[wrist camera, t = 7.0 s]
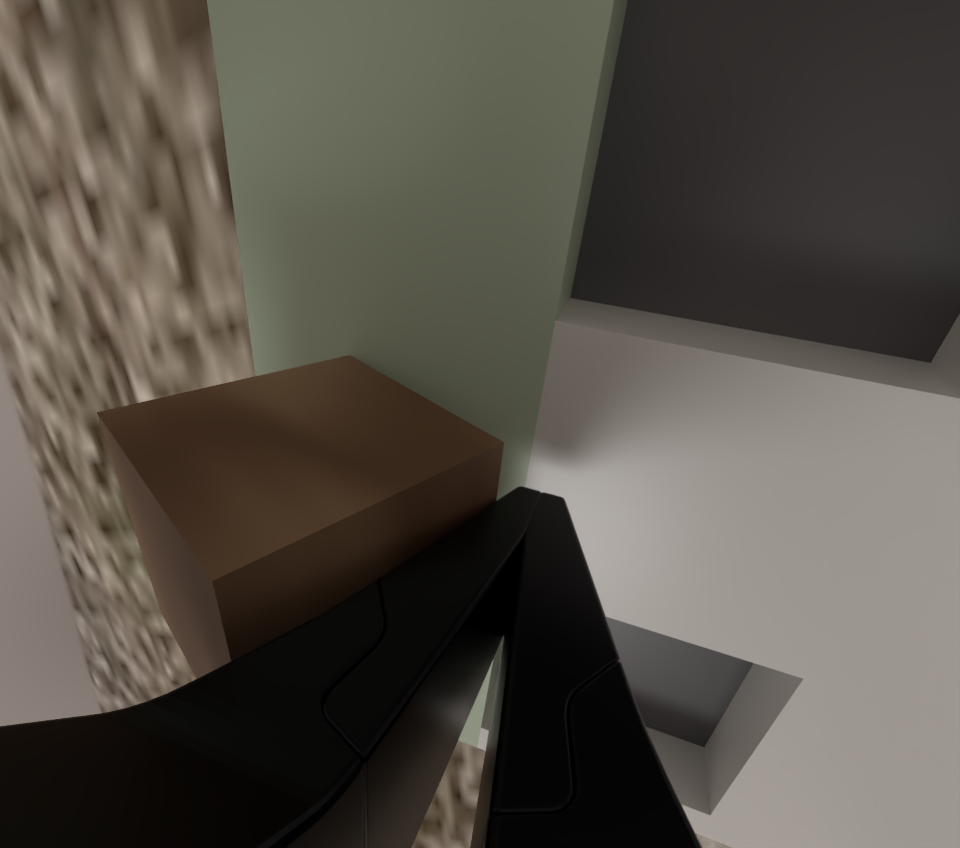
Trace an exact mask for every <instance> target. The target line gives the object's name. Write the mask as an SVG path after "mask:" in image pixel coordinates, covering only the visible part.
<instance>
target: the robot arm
mask: <svg viewBox="0 0 960 848" xmlns="http://www.w3.org/2000/svg"><path fill="white" fill-rule="evenodd" d="M503 636H504V638H503ZM502 638H503V644H502V651H501V657H500V663H499V669H498V676H497V682H496V688H495V695H494V701H493V707H492V714H491V720H490V726H489V733H488V739H487V745H486V752H485V758H484V764H483V771H482V777H481V783H480V790H479V796H478V802H477V809H476V815H475V821H474V828H473V834H472V840H471V847H470V848H702V846H701V844H700V842H699V840H698V838H697V836H696V834H695V832H694V830H693V828H692V825H691V823H690V821H689V819H688V817H687V815H686V813H685V811H684V809H683V807H682V805H681V802H680V800H679V798H678V796H677V794H676V792H675V790H674V788H673V786H672V784H671V782H670V780H669V777H668V775H667V773H666V771H665V769H664V766H663V764H662V762H661V760H660V757H659V755H658V753H657V751H656V749H655V746H654V744H653V742H652V740H651V738H650V735H649V733H648V731H647V728H646V726H645V723H644V721H643V718H642V716H641V713H640V710H639V708H638V705H637V703H636V700H635V697H634V695H633V692H632V690H631V687H630V684H629V681H628V678H627V675H626V672H625V669H624V667H623V664H622V663H621V662H620V656H619V653H618V650H617V647H616V644H615V642H614V639H613V636H612V633H611V630H610V627H609V624H608V622H607V619H606V616H605V613H604V610H603V607H602V604H601V601H600V599H599V596H598V593H597V590H596V587H595V584H594V581H593V578H592V576H591V573H590V570H589V567H588V564H587V561H586V558H585V556H584V553H583V550H582V547H581V544H580V541H579V538H578V535H577V533H576V530H575V527H574V524H573V521H572V518H571V515H570V513H569V510H568V507H567V504H566V501H565V499H564V498H563V497H560V496H556V495H553V494H549V493H545V492H542V493H541V492H540V491H538V490H534V489H530V488H527V487H523V486H519V487H517V488H515V489H514V490H512V491H511V492H509V493H507V494H506V495H504V496H503V497H501V498H500V499H498V500H497V501H495V502H494V503H492V504H491V505H489V506H488V507H486V508H485V509H483V510H481V511H480V512H478V513H477V514H475V515H474V516H472V517H471V518H469V519H468V520H466V521H465V522H463V523H462V524H460V525H459V526H457V527H455V528H454V529H452V530H451V531H449V532H448V533H446V534H445V535H443V536H442V537H440V538H439V539H437V540H436V541H434V542H433V543H431V544H430V545H428V546H426V547H425V548H423V549H422V550H420V551H419V552H417V553H416V554H414V555H413V556H411V557H410V558H408V559H407V560H405V561H404V562H402V563H400V564H399V565H397V566H396V567H394V568H393V569H391V570H390V571H388V572H387V573H385V574H384V575H382V576H381V577H379V578H378V581H376V580H375V581H373V582H371V583H369V584H368V585H366V586H365V587H363V588H362V589H360V590H359V591H357V592H356V593H354V594H353V595H351V596H349V597H348V598H346V599H344V600H343V601H341V602H339V603H338V604H336V605H335V606H333V607H331V608H330V609H328V610H326V611H325V612H323V613H321V614H320V615H318V616H316V617H314V618H312V619H310V620H309V621H307V622H305V623H303V624H301V625H299V626H298V627H296V628H294V629H292V630H290V631H288V632H287V633H285V634H283V635H281V636H279V637H277V638H275V639H273V640H271V641H269V642H267V643H265V644H263V645H262V646H260V647H258V648H256V649H254V650H252V651H250V652H248V653H246V654H244V655H242V656H240V657H238V658H236V659H234V660H233V661H231V662H229V663H227V664H225V665H223V666H221V667H219V668H217V669H215V670H213V671H211V672H209V673H207V674H205V675H203V676H202V677H200V678H198V679H196V680H194V681H192V682H190V683H188V684H186V685H184V686H182V687H180V688H178V689H175V690H173V691H171V692H169V693H167V694H165V695H162V696H160V697H157V698H155V699H152V700H150V701H147V702H144V703H141V704H138V705H134V706H131V707H128V708H124V709H120V710H116V711H112V712H107V713H101V714H95V715H87V716H79V717H71V718H63V719H55V720H47V721H39V722H32V723H23V724H16V725H7V726H0V848H411V847H412V845H413V843H414V840H415V838H416V836H417V833H418V831H419V829H420V826H421V824H422V822H423V820H424V817H425V815H426V813H427V810H428V808H429V806H430V804H431V801H432V799H433V797H434V794H435V792H436V790H437V787H438V785H439V783H440V781H441V778H442V776H443V774H444V771H445V769H446V767H447V764H448V762H449V760H450V758H451V755H452V753H453V751H454V748H455V746H456V744H457V742H458V739H459V737H460V735H461V732H462V730H463V728H464V725H465V723H466V721H467V719H468V716H469V714H470V712H471V709H472V707H473V705H474V702H475V700H476V698H477V696H478V693H479V691H480V689H481V686H482V684H483V682H484V680H485V677H486V675H487V673H488V670H489V668H490V666H491V663H492V661H493V659H494V657H495V654H496V652H497V650H498V647H499V645H500V643H501V640H502Z"/></svg>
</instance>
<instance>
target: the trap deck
mask: <svg viewBox="0 0 960 848" xmlns="http://www.w3.org/2000/svg"><path fill="white" fill-rule="evenodd" d="M207 5H208V13H209V21H210V28H211V36H212V44H213V52H214V59H215V67H216V75H217V83H218V91H219V98H220V106H221V114H222V122H223V129H224V137H225V145H226V153H227V160H228V168H229V176H230V184H231V191H232V199H233V207H234V215H235V223H236V230H237V238H238V246H239V254H240V261H241V269H242V277H243V285H244V292H245V300H246V308H247V316H248V323H249V331H250V339H251V347H252V355H253V362H254V370H255V376H260V375H264V374H268V373H273V372H277V371H282V370H286V369H290V368H295V367H299V366H304V365H308V364H312V363H317V362H321V361H325V360H330V359H334V358H339V357H343V356H347V355H350V356H352V357H354V358H355V359H357V360H359V361H361V362H362V363H364V364H366V365H368V366H370V367H371V368H373V369H375V370H377V371H378V372H380V373H382V374H384V375H385V376H387V377H389V378H391V379H393V380H394V381H396V382H398V383H400V384H401V385H403V386H405V387H407V388H408V389H410V390H412V391H414V392H416V393H417V394H419V395H421V396H423V397H424V398H426V399H428V400H430V401H432V402H433V403H435V404H437V405H439V406H440V407H442V408H444V409H446V410H447V411H449V412H451V413H453V414H455V415H456V416H458V417H460V418H462V419H463V420H465V421H467V422H469V423H470V424H472V425H474V426H476V427H478V428H479V429H481V430H483V431H485V432H486V433H488V434H490V435H492V436H493V437H495V438H497V439H499V440H501V441H502V442H504V447H503V455H502V462H501V470H500V477H499V484H498V492H497V499H496V501H497V500H498V499H500V498H501V497H503V496H504V495H506V494H507V493H509V492H511V491H512V490H514V489H515V488H517V487H519V486H523V487H527V488H530V489H534V490H538V491H540V492H541V493H542V492H545V493H549V494H553V495H556V496H560V497H563V498H564V499H565V501H566V504H567V507H568V510H569V513H570V515H571V518H572V521H573V524H574V527H575V530H576V533H577V535H578V538H579V541H580V544H581V547H582V550H583V553H584V556H585V558H586V561H587V564H588V567H589V570H590V573H591V576H592V578H593V581H594V584H595V587H596V590H597V593H598V596H599V599H600V601H601V604H602V607H603V610H604V613H605V616H606V619H607V622H608V624H609V627H610V630H611V633H612V636H613V639H614V642H615V644H616V647H617V650H618V653H619V656H620V662H621V663H622V664H623V667H624V669H625V672H626V675H627V678H628V681H629V684H630V687H631V690H632V692H633V695H634V697H635V700H636V703H637V705H638V708H639V710H640V713H641V716H642V718H643V721H644V723H645V726H646V728H647V731H648V733H649V735H650V738H651V740H652V742H653V744H654V746H655V749H656V751H657V753H658V755H659V757H660V760H661V762H662V764H663V766H664V769H665V771H666V773H667V775H668V777H669V780H670V782H671V784H672V786H673V788H674V790H675V792H676V794H677V796H678V798H679V800H680V802H681V805H682V807H683V809H684V811H685V813H686V815H687V817H688V819H689V821H690V823H691V825H692V828H693V830H694V832H695V833H696V834H698V835H701V836H703V837H706V838H708V839H711V840H714V841H716V842H719V843H721V844H724V845H726V846H729V847H731V848H960V0H207ZM503 638H504V636H503ZM503 638H502V640H501V643H500V645H499V647H498V650H497V652H496V654H495V657H494V659H493V661H492V663H491V666H490V668H489V670H488V673H487V675H486V677H485V680H484V682H483V684H482V686H481V689H480V691H479V693H478V696H477V698H476V700H475V702H474V705H473V707H472V709H471V712H470V714H469V716H468V719H467V721H466V723H465V725H464V728H463V730H462V732H461V735H460V737H459V739H458V740H459V741H461V742H464V743H467V744H469V745H472V746H474V747H477V748H479V749H482V750H484V751H486V745H487V739H488V733H489V726H490V720H491V714H492V707H493V701H494V695H495V688H496V682H497V676H498V669H499V663H500V657H501V651H502V644H503Z"/></svg>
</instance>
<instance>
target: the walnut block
mask: <svg viewBox="0 0 960 848" xmlns="http://www.w3.org/2000/svg"><path fill="white" fill-rule="evenodd" d="M97 414H98V417H99V421H100V424H101V427H102V430H103V433H104V436H105V439H106V442H107V446H108V449H109V452H110V455H111V458H112V461H113V464H114V467H115V471H116V474H117V477H118V480H119V483H120V486H121V489H122V492H123V495H124V499H125V502H126V505H127V508H128V511H129V514H130V517H131V520H132V524H133V527H134V530H135V533H136V536H137V539H138V542H139V545H140V548H141V552H142V555H143V558H144V561H145V564H146V567H147V570H148V573H149V577H150V580H151V583H152V586H153V589H154V592H155V595H156V598H157V601H158V605H159V608H160V611H161V613H162V615H163V617H164V619H165V620H166V622H167V624H168V626H169V628H170V630H171V631H172V633H173V635H174V637H175V639H176V641H177V642H178V644H179V646H180V648H181V650H182V652H183V653H184V655H185V657H186V659H187V661H188V663H189V664H190V666H191V668H192V670H193V672H194V674H195V675H196V677H197V679H198V678H200V677H202V676H203V675H205V674H207V673H209V672H211V671H213V670H215V669H217V668H219V667H221V666H223V665H225V664H227V663H229V662H231V661H233V660H234V659H236V658H238V657H240V656H242V655H244V654H246V653H248V652H250V651H252V650H254V649H256V648H258V647H260V646H262V645H263V644H265V643H267V642H269V641H271V640H273V639H275V638H277V637H279V636H281V635H283V634H285V633H287V632H288V631H290V630H292V629H294V628H296V627H298V626H299V625H301V624H303V623H305V622H307V621H309V620H310V619H312V618H314V617H316V616H318V615H320V614H321V613H323V612H325V611H326V610H328V609H330V608H331V607H333V606H335V605H336V604H338V603H339V602H341V601H343V600H344V599H346V598H348V597H349V596H351V595H353V594H354V593H356V592H357V591H359V590H360V589H362V588H363V587H365V586H366V585H368V584H369V583H371V582H373V581H375V580H376V581H378V578H379V577H381V576H382V575H384V574H385V573H387V572H388V571H390V570H391V569H393V568H394V567H396V566H397V565H399V564H400V563H402V562H404V561H405V560H407V559H408V558H410V557H411V556H413V555H414V554H416V553H417V552H419V551H420V550H422V549H423V548H425V547H426V546H428V545H430V544H431V543H433V542H434V541H436V540H437V539H439V538H440V537H442V536H443V535H445V534H446V533H448V532H449V531H451V530H452V529H454V528H455V527H457V526H459V525H460V524H462V523H463V522H465V521H466V520H468V519H469V518H471V517H472V516H474V515H475V514H477V513H478V512H480V511H481V510H483V509H485V508H486V507H488V506H489V505H491V504H492V503H494V502H495V501H496V499H497V492H498V484H499V477H500V470H501V462H502V455H503V447H504V442H502V441H501V440H499V439H497V438H495V437H493V436H492V435H490V434H488V433H486V432H485V431H483V430H481V429H479V428H478V427H476V426H474V425H472V424H470V423H469V422H467V421H465V420H463V419H462V418H460V417H458V416H456V415H455V414H453V413H451V412H449V411H447V410H446V409H444V408H442V407H440V406H439V405H437V404H435V403H433V402H432V401H430V400H428V399H426V398H424V397H423V396H421V395H419V394H417V393H416V392H414V391H412V390H410V389H408V388H407V387H405V386H403V385H401V384H400V383H398V382H396V381H394V380H393V379H391V378H389V377H387V376H385V375H384V374H382V373H380V372H378V371H377V370H375V369H373V368H371V367H370V366H368V365H366V364H364V363H362V362H361V361H359V360H357V359H355V358H354V357H352V356H350V355H347V356H343V357H339V358H334V359H330V360H325V361H321V362H317V363H312V364H308V365H304V366H299V367H295V368H290V369H286V370H282V371H277V372H273V373H268V374H264V375H260V376H255V377H251V378H246V379H242V380H238V381H233V382H229V383H225V384H220V385H216V386H211V387H207V388H203V389H198V390H194V391H189V392H185V393H181V394H176V395H172V396H168V397H163V398H159V399H154V400H150V401H146V402H141V403H137V404H132V405H128V406H124V407H119V408H115V409H110V410H106V411H102V412H97Z"/></svg>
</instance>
